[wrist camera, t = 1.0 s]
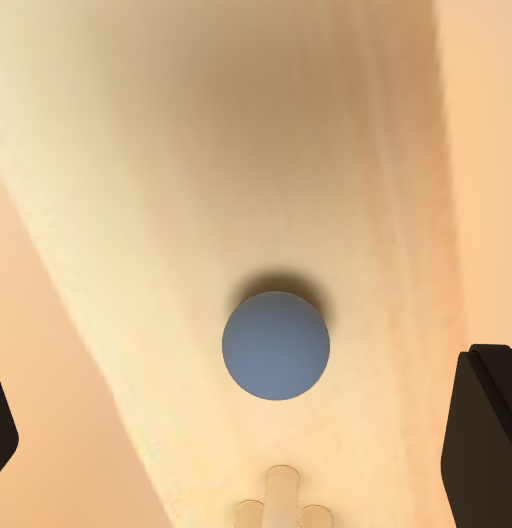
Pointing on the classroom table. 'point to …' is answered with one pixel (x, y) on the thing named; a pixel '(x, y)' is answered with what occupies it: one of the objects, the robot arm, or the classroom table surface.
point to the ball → (275, 345)
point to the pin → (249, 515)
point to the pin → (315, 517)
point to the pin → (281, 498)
